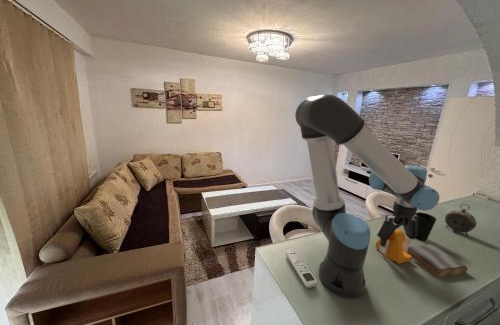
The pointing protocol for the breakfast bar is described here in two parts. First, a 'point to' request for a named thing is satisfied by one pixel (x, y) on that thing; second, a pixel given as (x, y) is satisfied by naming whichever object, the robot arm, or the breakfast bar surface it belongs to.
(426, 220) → the cup
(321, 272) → the robot arm
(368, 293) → the breakfast bar surface
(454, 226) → the alarm clock
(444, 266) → the plinth
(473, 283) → the breakfast bar surface
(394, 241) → the bracket
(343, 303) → the breakfast bar surface
